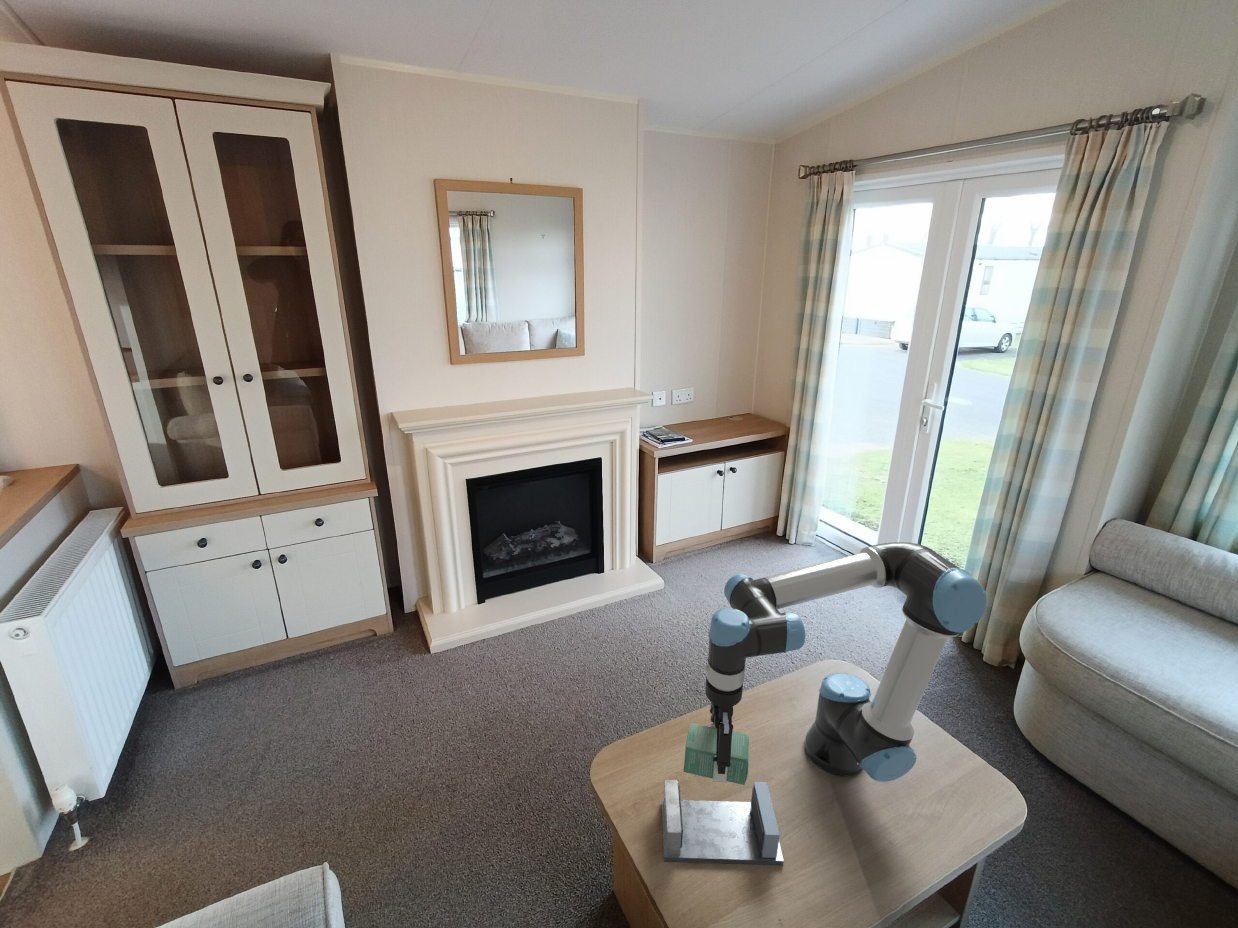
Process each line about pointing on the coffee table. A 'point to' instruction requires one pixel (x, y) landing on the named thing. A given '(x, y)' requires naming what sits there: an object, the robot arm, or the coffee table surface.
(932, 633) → the robot arm
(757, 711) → the coffee table surface
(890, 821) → the coffee table surface
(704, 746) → the box
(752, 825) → the vise
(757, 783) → the block
